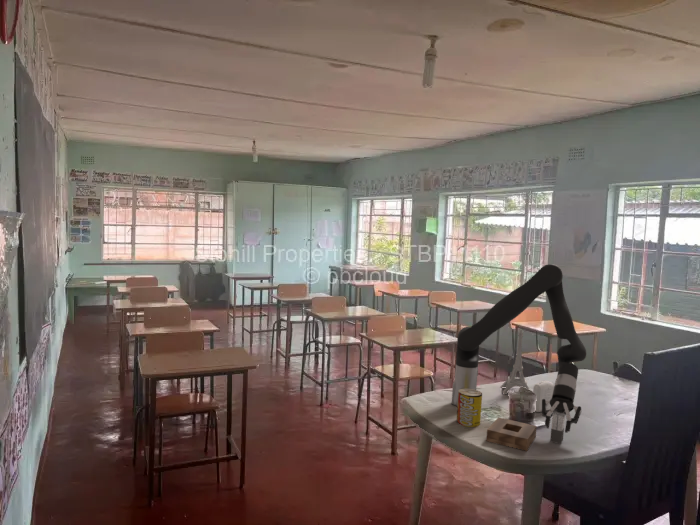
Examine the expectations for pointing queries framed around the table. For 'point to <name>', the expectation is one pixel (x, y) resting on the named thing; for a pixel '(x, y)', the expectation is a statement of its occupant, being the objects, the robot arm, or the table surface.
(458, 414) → the yellow tin can
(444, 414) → the table surface
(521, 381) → the eiffel tower
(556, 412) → the white grey tall block
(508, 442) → the stand
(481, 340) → the robot arm
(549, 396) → the white rounded slab
